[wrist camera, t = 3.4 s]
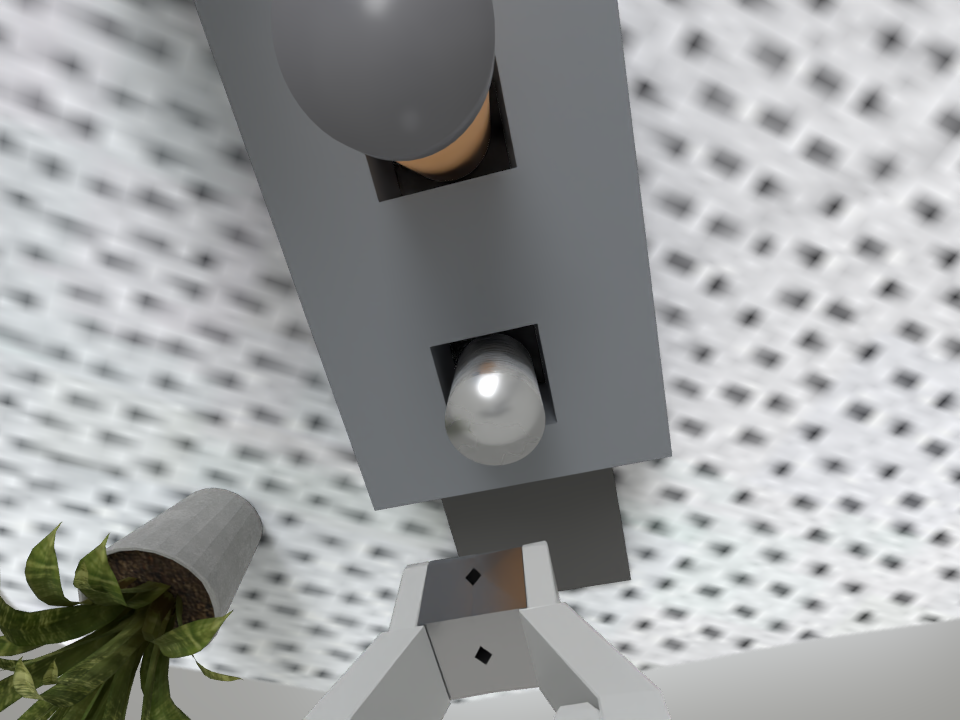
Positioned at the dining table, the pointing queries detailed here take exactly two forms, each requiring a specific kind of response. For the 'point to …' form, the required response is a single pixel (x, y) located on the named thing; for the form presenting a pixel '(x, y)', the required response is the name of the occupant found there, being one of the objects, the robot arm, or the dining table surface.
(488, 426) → the plunger
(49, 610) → the house plant
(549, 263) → the housing
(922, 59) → the dining table surface
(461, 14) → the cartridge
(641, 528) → the dining table surface
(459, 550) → the mat
